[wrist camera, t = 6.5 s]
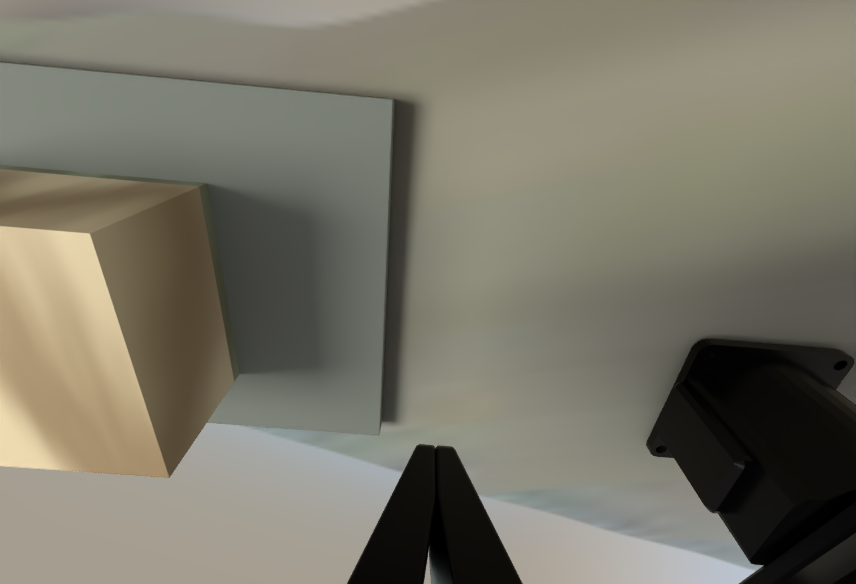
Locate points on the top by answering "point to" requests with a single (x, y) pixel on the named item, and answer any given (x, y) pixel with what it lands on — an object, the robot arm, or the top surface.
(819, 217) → the top surface
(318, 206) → the slate mat
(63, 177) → the tile block
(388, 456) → the top surface
